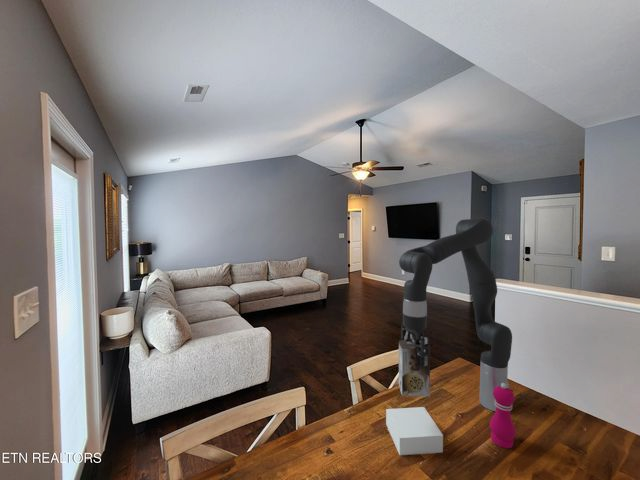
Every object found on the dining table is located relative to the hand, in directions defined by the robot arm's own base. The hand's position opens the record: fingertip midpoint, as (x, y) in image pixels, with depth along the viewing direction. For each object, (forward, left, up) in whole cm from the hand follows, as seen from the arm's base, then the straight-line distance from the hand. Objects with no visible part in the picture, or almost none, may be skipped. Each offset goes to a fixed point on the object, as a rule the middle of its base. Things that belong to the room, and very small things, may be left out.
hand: (414, 360), depth 97 cm
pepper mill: (-28, +8, -27) cm, 40 cm away
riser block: (0, 0, -27) cm, 27 cm away
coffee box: (0, 0, -11) cm, 11 cm away
